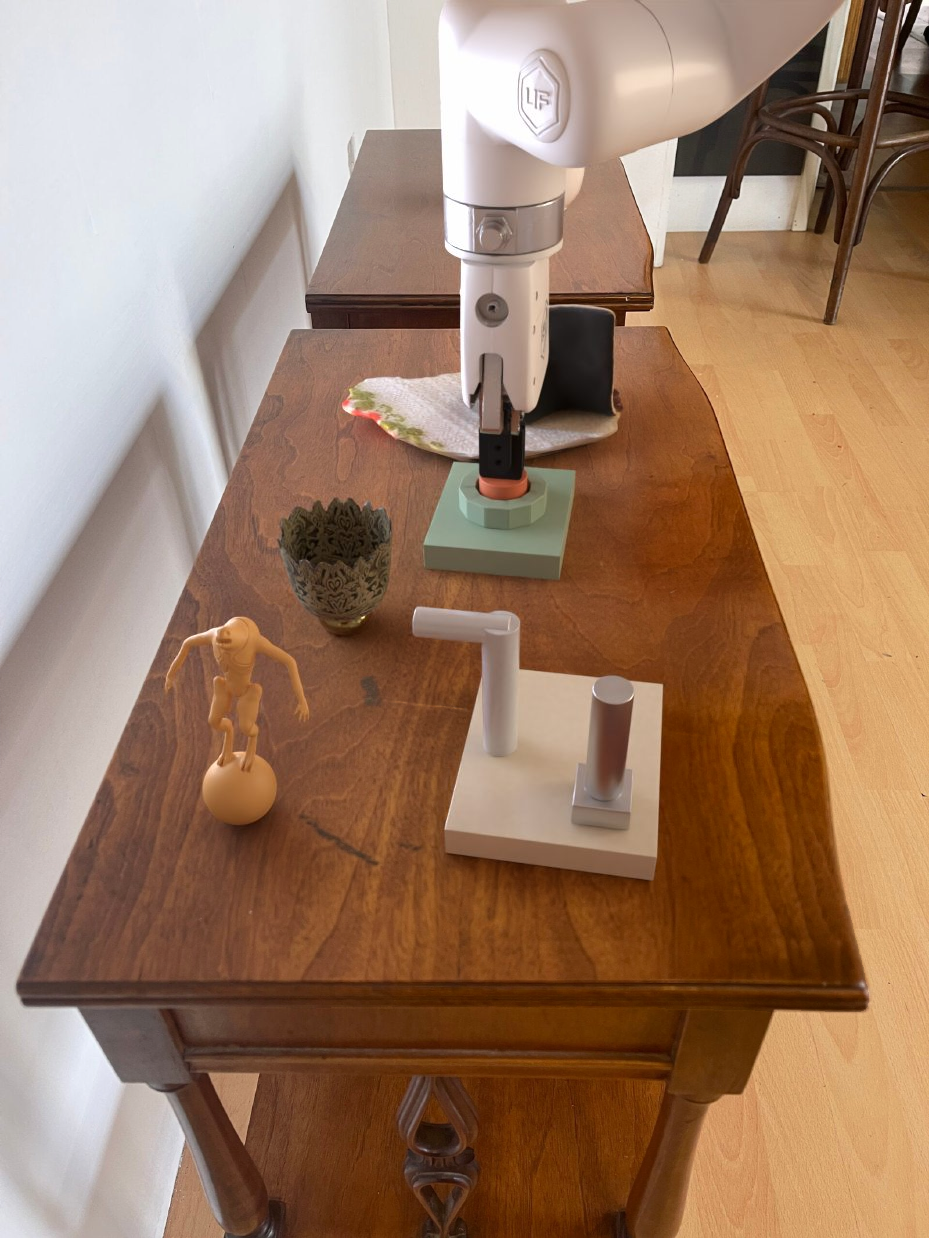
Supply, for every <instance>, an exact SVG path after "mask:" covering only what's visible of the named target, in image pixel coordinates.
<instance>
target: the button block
mask: <svg viewBox="0 0 929 1238" xmlns="http://www.w3.org/2000/svg"><path fill="white" fill-rule="evenodd" d="M524 469H525V470H526V472H527V494H525V495H524V496H522V497H521V498H517V499H512V500H508V501H502V500H492V499H489V498H487V497H485V496H482V495H480V494H479V462H460V461H453V463H452V465H451V468H450V471H449V473H448V476H447V478H446V482H445V484H444V487H443V488H442V489H443V490H442V492H441V495H440V498H439V499H438V503H437V506H436V508H435V511H434V514H433V516H432V518H431V519H432V520H431V522H430V524H429V527H428V530H427V533H426V536H425V538H424V541H423V544H422V549H423V551H422V552H423V568H424V569H429V570H439V571H451V572H460V573H472V574H484V575H495V576H505V577H515V578H517V577H518V578H528V579H538V580H539V579H540V580H549V581H560V577H561V571H562V566H563V560H564V555H565V549H566V545H567V539H568V531H569V525H570V521H571V516H572V509H573V503H574V498H575V491H576V490H575V489H576V472H577V471H576V470H573V469H560V468H559V469H558V468H546V467H532V466H524Z"/></svg>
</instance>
